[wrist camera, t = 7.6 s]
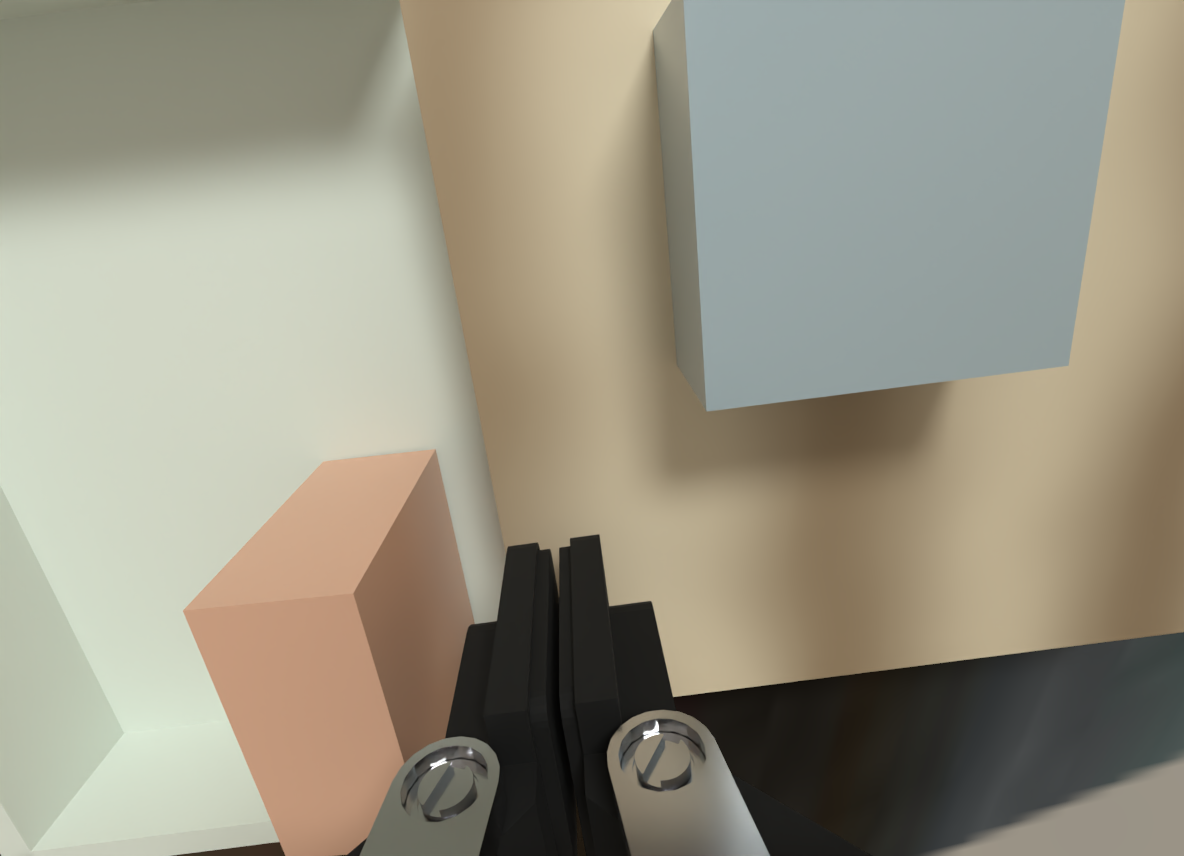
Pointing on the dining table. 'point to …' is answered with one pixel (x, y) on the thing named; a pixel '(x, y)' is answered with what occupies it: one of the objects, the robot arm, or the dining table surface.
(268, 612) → the terracotta tile
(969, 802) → the dining table surface
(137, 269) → the tray
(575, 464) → the birch board
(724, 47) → the slate tile
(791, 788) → the dining table surface
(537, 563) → the robot arm
